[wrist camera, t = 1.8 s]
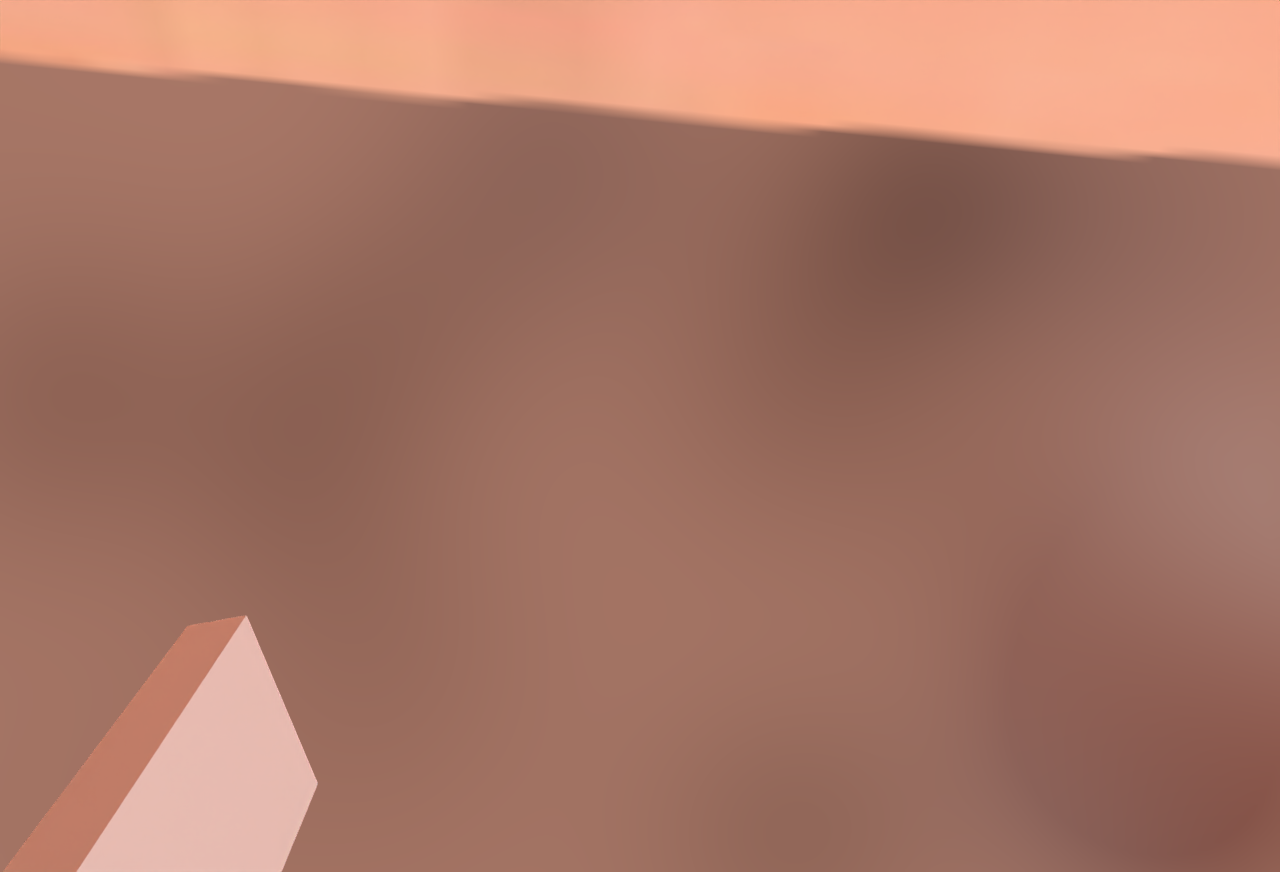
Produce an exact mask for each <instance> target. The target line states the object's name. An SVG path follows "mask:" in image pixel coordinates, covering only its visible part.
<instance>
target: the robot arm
mask: <svg viewBox="0 0 1280 872" xmlns="http://www.w3.org/2000/svg"><path fill="white" fill-rule="evenodd" d="M317 784H318V783H317V781H316V778H315V776H314V774H313V771H312V769H311V766H310V764H309V762H308V760H307V757H306V755H305V752H304V750H303V748H302V745H301V743H300V741H299V738H298V736H297V733H296V731H295V729H294V727H293V724H292V722H291V720H290V717H289V715H288V712H287V710H286V708H285V705H284V703H283V701H282V698H281V696H280V693H279V691H278V689H277V687H276V684H275V682H274V679H273V677H272V675H271V672H270V670H269V668H268V666H267V663H266V660H265V658H264V656H263V653H262V651H261V649H260V647H259V644H258V642H257V639H256V637H255V635H254V632H253V630H252V628H251V625H250V623H249V621H248V618H247V616H246V615H245V616H239V617H234V618H228V619H223V620H217V621H212V622H206V623H201V624H195V625H189V626H187V627H186V629H185V630H184V631H183V633H182V634H181V635H180V637H179V638H178V639H177V641H176V642H175V643H174V645H173V646H172V647H171V649H170V650H169V651H168V653H167V654H166V655H165V657H164V658H163V659H162V661H161V662H160V663H159V665H158V666H157V667H156V669H155V670H154V671H153V673H152V674H151V675H150V677H149V678H148V679H147V681H146V682H145V683H144V685H143V686H142V687H141V689H140V690H139V691H138V693H137V694H136V695H135V697H134V698H133V699H132V701H131V702H130V703H129V705H128V706H127V707H126V709H125V710H124V711H123V713H122V714H121V715H120V717H119V718H118V719H117V721H116V722H115V723H114V725H113V726H112V727H111V729H110V730H109V731H108V733H107V734H106V735H105V737H104V738H103V739H102V740H101V742H100V743H99V745H98V746H97V747H96V749H95V750H94V751H93V752H92V754H91V755H90V756H89V758H88V759H87V761H86V762H85V763H84V764H83V766H82V767H81V768H80V770H79V771H78V773H77V774H76V775H75V776H74V778H73V779H72V781H71V782H70V783H69V784H68V786H67V787H66V788H65V790H64V791H63V793H62V794H61V795H60V796H59V798H58V799H57V800H56V802H55V803H54V805H53V806H52V807H51V808H50V810H49V811H48V812H47V814H46V815H45V817H44V818H43V819H42V820H41V822H40V823H39V824H38V826H37V827H36V828H35V830H34V831H33V832H32V834H31V835H30V836H29V838H28V839H27V840H26V842H25V843H24V844H23V846H22V847H21V848H20V850H19V851H18V852H17V854H16V855H15V856H14V858H13V859H12V860H11V862H10V863H9V864H8V866H7V867H6V868H5V870H4V871H3V872H282V869H283V867H284V864H285V862H286V860H287V857H288V855H289V852H290V850H291V847H292V845H293V842H294V840H295V838H296V835H297V833H298V830H299V828H300V825H301V823H302V820H303V818H304V816H305V813H306V811H307V808H308V806H309V804H310V801H311V799H312V796H313V794H314V791H315V789H316V787H317Z"/></svg>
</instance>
